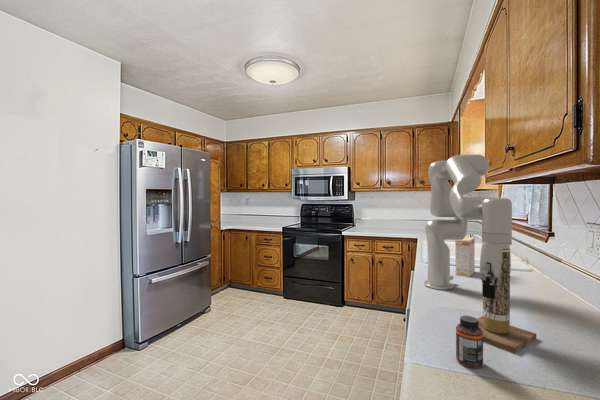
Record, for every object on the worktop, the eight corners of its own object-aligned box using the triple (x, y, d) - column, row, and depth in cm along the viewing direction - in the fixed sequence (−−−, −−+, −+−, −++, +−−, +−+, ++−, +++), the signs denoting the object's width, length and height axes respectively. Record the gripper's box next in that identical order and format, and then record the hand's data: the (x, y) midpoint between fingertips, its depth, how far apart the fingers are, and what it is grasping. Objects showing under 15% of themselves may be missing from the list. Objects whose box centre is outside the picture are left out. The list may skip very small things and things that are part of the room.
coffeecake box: (461, 269, 168) (461, 236, 168) (475, 271, 163) (475, 237, 163) (454, 275, 157) (454, 239, 157) (469, 277, 152) (469, 240, 152)
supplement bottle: (459, 353, 78) (459, 311, 78) (485, 362, 74) (485, 317, 74) (453, 363, 73) (453, 318, 73) (480, 372, 69) (480, 325, 69)
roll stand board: (482, 320, 98) (482, 316, 98) (536, 338, 86) (536, 333, 86) (458, 332, 90) (458, 327, 90) (514, 353, 78) (514, 348, 78)
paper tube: (498, 324, 92) (499, 246, 91) (515, 335, 85) (515, 250, 85) (477, 325, 92) (477, 246, 91) (492, 335, 85) (493, 250, 84)
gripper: (496, 235, 96) (495, 286, 96) (469, 239, 86) (468, 296, 86) (523, 237, 89) (522, 293, 90) (497, 242, 80) (496, 304, 80)
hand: (496, 294), depth 88 cm, fingers open, 9 cm apart
